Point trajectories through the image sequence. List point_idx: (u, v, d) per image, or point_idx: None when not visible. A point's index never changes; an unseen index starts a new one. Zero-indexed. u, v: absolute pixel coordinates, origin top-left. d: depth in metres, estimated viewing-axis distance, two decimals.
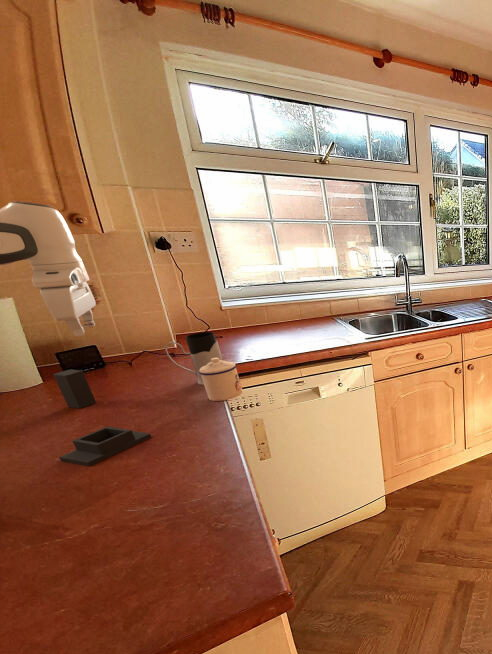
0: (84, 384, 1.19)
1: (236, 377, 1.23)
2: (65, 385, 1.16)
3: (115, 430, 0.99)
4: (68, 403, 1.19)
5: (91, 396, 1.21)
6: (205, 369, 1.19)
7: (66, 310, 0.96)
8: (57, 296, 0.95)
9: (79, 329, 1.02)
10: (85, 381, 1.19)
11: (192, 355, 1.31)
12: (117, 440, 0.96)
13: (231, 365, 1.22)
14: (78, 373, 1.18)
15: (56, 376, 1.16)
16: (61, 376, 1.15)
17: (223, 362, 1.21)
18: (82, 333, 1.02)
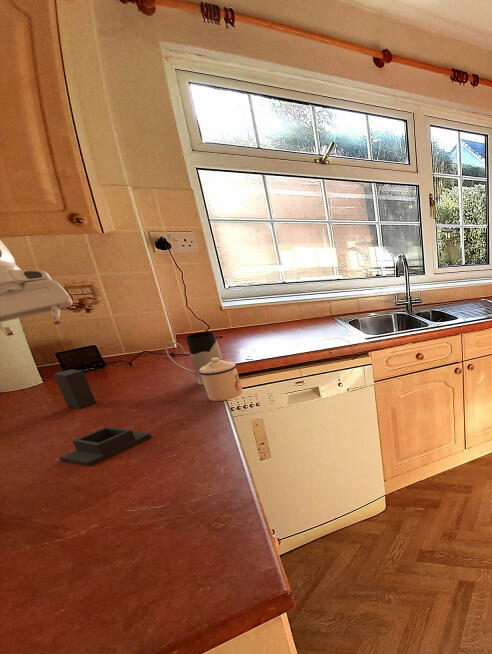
0: (84, 384, 1.19)
1: (236, 377, 1.23)
2: (65, 385, 1.16)
3: (115, 430, 0.99)
4: (68, 403, 1.19)
5: (91, 396, 1.21)
6: (205, 369, 1.19)
7: None
8: None
9: (58, 317, 1.18)
10: (85, 381, 1.19)
11: (192, 355, 1.31)
12: (117, 440, 0.96)
13: (231, 365, 1.22)
14: (78, 373, 1.18)
15: (56, 376, 1.16)
16: (61, 376, 1.15)
17: (223, 362, 1.21)
18: (60, 321, 1.18)
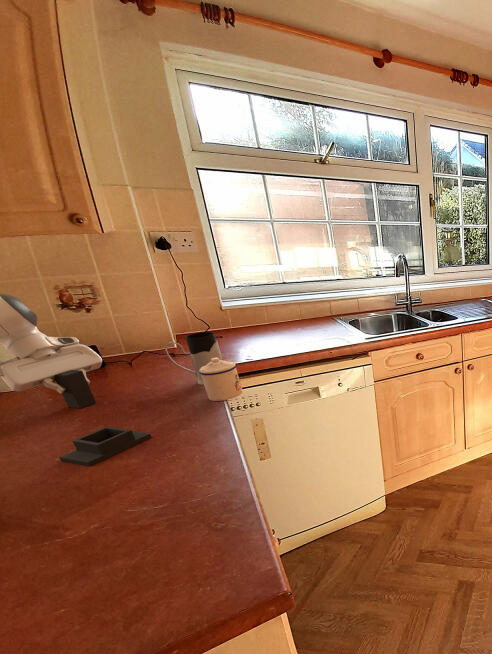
0: (84, 384, 1.19)
1: (236, 377, 1.23)
2: (65, 385, 1.16)
3: (115, 430, 0.99)
4: (68, 403, 1.19)
5: (91, 396, 1.21)
6: (205, 369, 1.19)
7: None
8: None
9: None
10: (85, 381, 1.19)
11: (192, 355, 1.31)
12: (117, 440, 0.96)
13: (231, 365, 1.22)
14: (78, 373, 1.17)
15: (56, 376, 1.16)
16: (61, 376, 1.15)
17: (223, 362, 1.21)
18: None
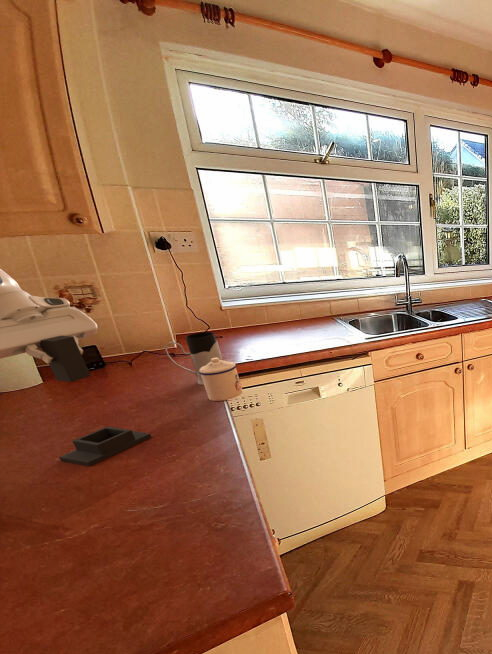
0: (76, 353, 0.99)
1: (236, 377, 1.23)
2: (53, 353, 0.97)
3: (115, 430, 0.99)
4: (56, 376, 1.00)
5: (84, 368, 1.01)
6: (205, 369, 1.19)
7: None
8: None
9: None
10: (77, 349, 1.00)
11: (192, 355, 1.31)
12: (117, 440, 0.96)
13: (231, 365, 1.22)
14: (68, 339, 0.98)
15: (42, 342, 0.96)
16: (48, 342, 0.96)
17: (223, 362, 1.21)
18: None
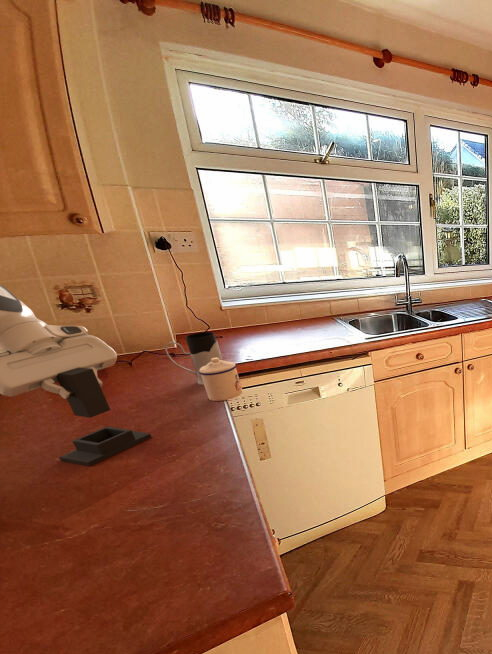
0: (95, 386, 0.92)
1: (236, 377, 1.23)
2: (71, 387, 0.89)
3: (115, 430, 0.99)
4: (75, 411, 0.92)
5: (104, 401, 0.94)
6: (205, 369, 1.19)
7: None
8: None
9: None
10: (96, 382, 0.92)
11: (192, 355, 1.31)
12: (117, 440, 0.96)
13: (231, 365, 1.22)
14: (87, 372, 0.91)
15: (59, 376, 0.89)
16: (65, 376, 0.89)
17: (223, 362, 1.21)
18: None
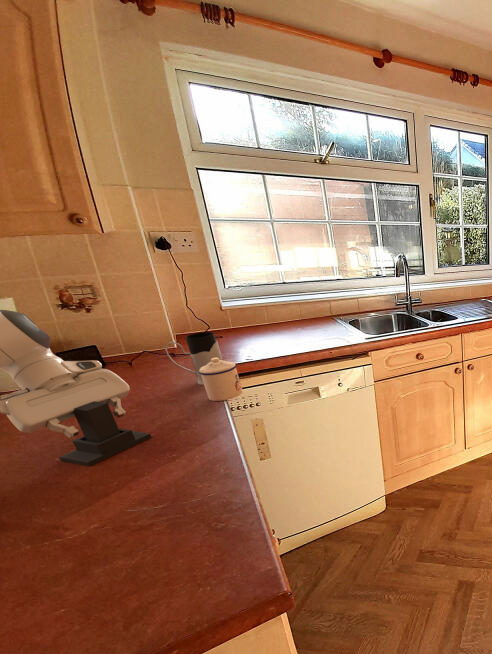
0: (110, 420, 0.95)
1: (236, 377, 1.23)
2: (87, 421, 0.93)
3: None
4: None
5: None
6: (205, 369, 1.19)
7: None
8: None
9: None
10: (111, 416, 0.95)
11: (192, 355, 1.31)
12: (117, 440, 0.96)
13: (231, 365, 1.22)
14: (103, 406, 0.94)
15: (75, 410, 0.92)
16: (82, 411, 0.92)
17: (223, 362, 1.21)
18: None
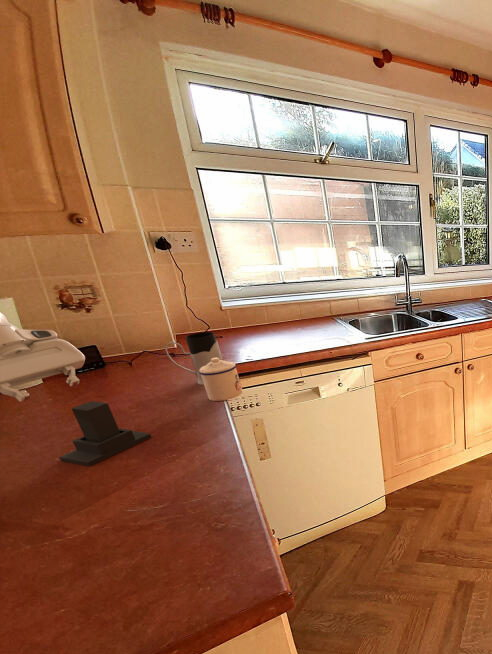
0: (110, 420, 0.95)
1: (236, 377, 1.23)
2: (87, 421, 0.93)
3: None
4: None
5: None
6: (205, 369, 1.19)
7: None
8: None
9: None
10: (111, 416, 0.95)
11: (192, 355, 1.31)
12: (117, 440, 0.96)
13: (231, 365, 1.22)
14: (103, 406, 0.94)
15: (75, 410, 0.92)
16: (82, 411, 0.92)
17: (223, 362, 1.21)
18: None
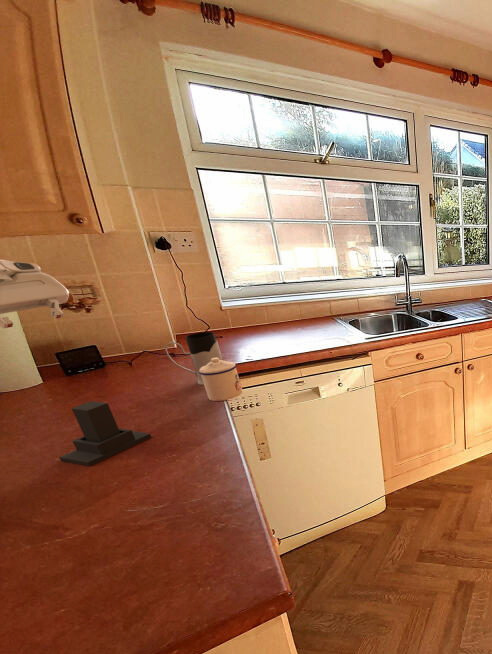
0: (110, 420, 0.95)
1: (236, 377, 1.23)
2: (87, 421, 0.93)
3: None
4: None
5: None
6: (205, 369, 1.19)
7: None
8: None
9: None
10: (111, 416, 0.95)
11: (192, 355, 1.31)
12: (117, 440, 0.96)
13: (231, 365, 1.22)
14: (103, 406, 0.94)
15: (75, 410, 0.92)
16: (82, 411, 0.92)
17: (223, 362, 1.21)
18: None
